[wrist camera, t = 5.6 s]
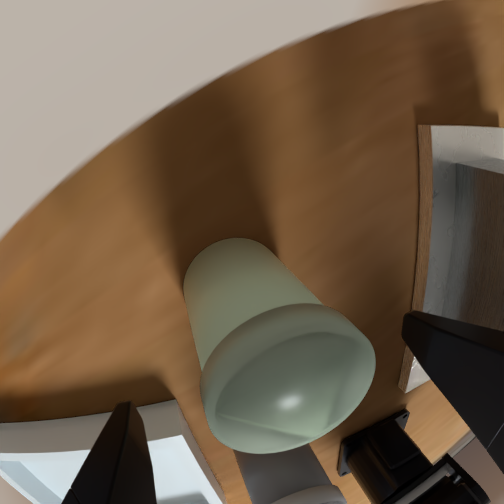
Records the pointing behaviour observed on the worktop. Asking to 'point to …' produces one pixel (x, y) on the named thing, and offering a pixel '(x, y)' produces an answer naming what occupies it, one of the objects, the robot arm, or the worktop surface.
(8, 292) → the worktop surface
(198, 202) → the worktop surface
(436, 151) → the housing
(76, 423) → the tray
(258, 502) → the grey cup
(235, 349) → the cylinder
